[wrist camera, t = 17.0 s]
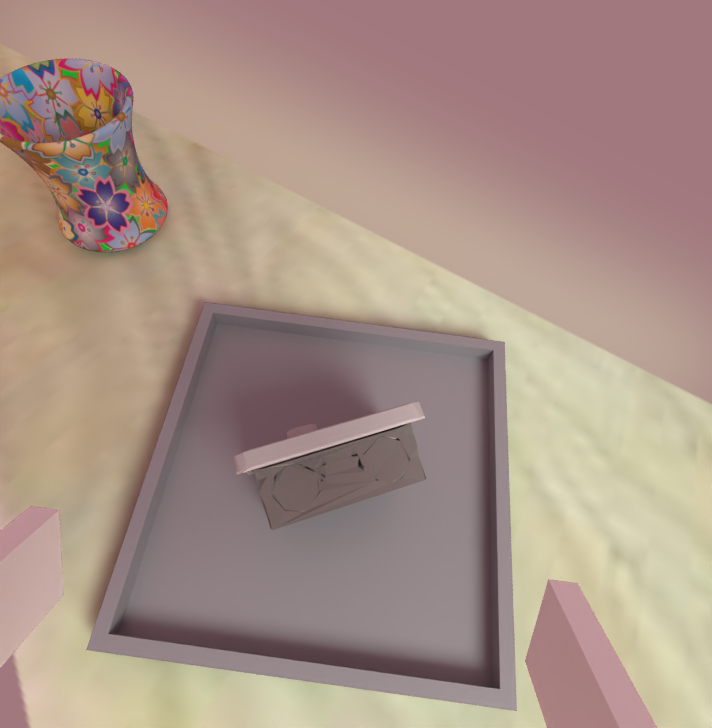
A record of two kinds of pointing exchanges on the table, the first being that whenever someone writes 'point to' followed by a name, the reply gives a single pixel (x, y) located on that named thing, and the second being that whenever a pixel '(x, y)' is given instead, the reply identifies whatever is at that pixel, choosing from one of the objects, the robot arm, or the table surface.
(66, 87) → the mug
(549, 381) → the table surface
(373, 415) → the electrical switch
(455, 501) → the grey square tray
